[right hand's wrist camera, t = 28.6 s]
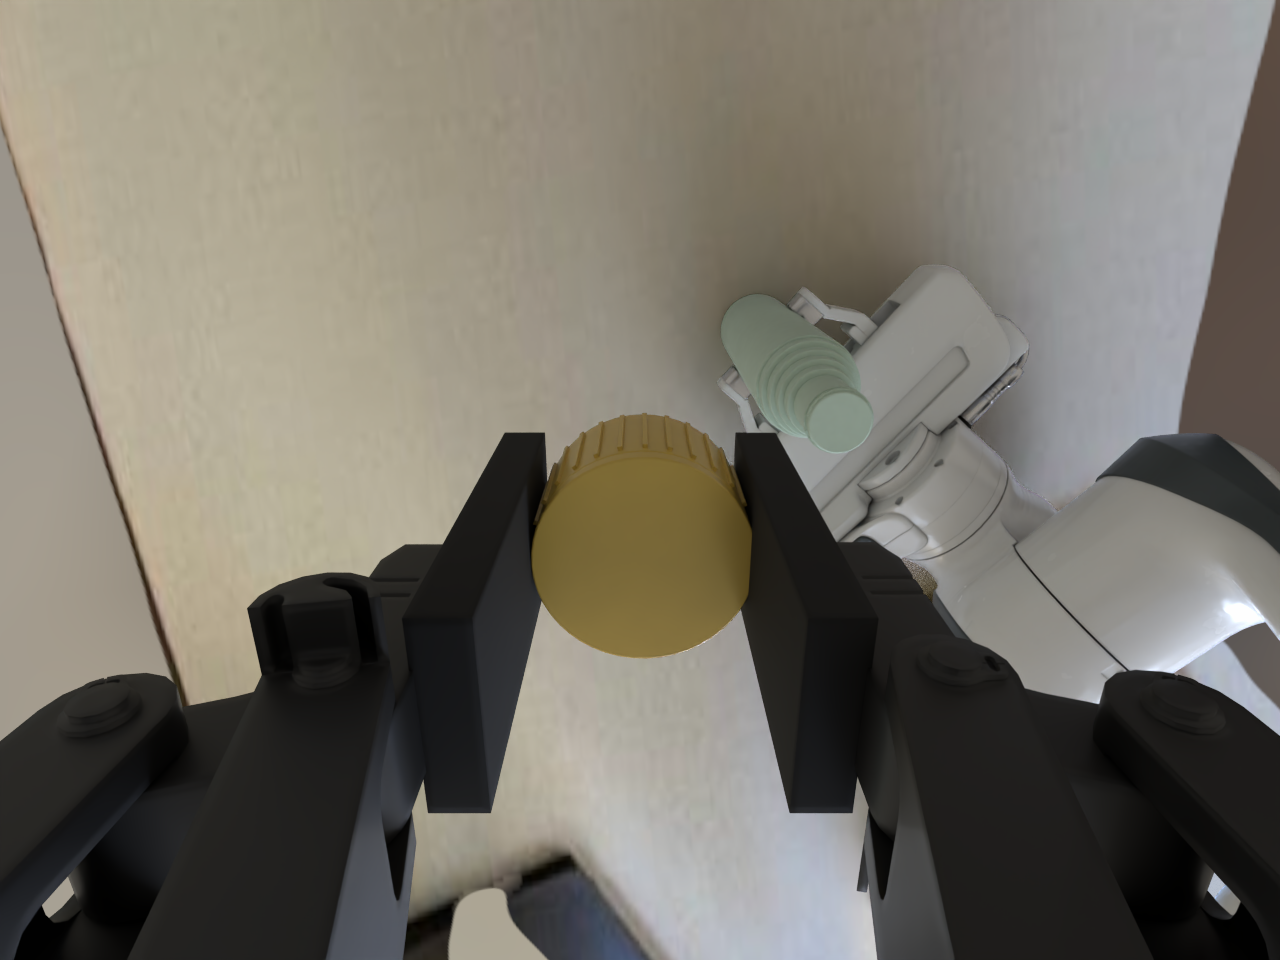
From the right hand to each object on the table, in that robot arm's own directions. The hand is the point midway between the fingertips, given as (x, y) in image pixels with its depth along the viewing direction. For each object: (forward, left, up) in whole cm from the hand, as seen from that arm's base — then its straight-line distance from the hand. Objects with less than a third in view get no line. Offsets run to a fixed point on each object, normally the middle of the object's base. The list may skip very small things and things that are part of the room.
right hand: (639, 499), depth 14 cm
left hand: (+1, +7, -32) cm, 32 cm away
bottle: (+2, +8, -38) cm, 39 cm away
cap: (0, 0, +2) cm, 2 cm away
